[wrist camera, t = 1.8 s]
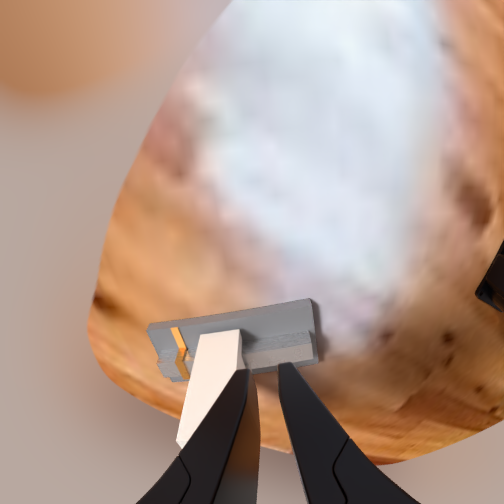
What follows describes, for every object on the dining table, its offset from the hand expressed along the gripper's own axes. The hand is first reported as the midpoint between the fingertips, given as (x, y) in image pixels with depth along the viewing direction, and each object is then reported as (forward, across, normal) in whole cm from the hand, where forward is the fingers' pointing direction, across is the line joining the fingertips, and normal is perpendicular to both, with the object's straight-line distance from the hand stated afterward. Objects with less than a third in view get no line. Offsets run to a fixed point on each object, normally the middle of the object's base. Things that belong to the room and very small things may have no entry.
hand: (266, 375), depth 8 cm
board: (+13, +4, +9) cm, 16 cm away
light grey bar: (+13, +4, +9) cm, 16 cm away
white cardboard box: (+12, +4, +9) cm, 15 cm away
